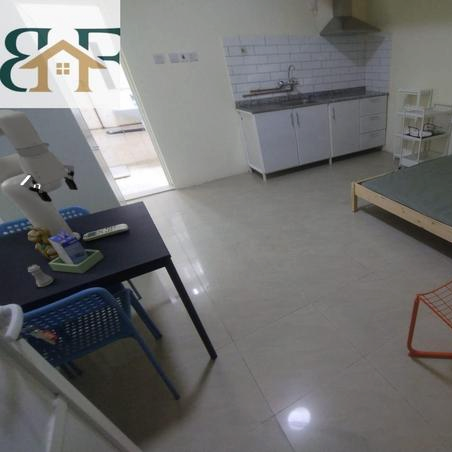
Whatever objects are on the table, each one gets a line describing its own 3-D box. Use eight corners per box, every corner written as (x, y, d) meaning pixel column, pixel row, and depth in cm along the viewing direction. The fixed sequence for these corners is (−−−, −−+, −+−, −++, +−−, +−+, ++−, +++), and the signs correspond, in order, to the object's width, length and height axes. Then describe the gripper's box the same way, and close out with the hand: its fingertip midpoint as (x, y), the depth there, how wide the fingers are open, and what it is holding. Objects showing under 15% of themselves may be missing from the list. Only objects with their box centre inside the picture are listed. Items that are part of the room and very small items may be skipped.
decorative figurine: (39, 259, 115) (15, 229, 106) (61, 247, 121) (39, 218, 113) (56, 262, 112) (31, 232, 104) (76, 250, 119) (55, 220, 110)
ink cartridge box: (93, 261, 111) (73, 231, 103) (78, 270, 107) (55, 239, 99) (80, 255, 115) (59, 226, 107) (64, 263, 110) (41, 233, 102)
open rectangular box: (53, 270, 108) (48, 263, 106) (76, 255, 116) (71, 248, 114) (82, 273, 106) (77, 266, 104) (104, 257, 114) (99, 250, 112)
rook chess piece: (35, 286, 101) (20, 269, 97) (49, 277, 105) (36, 261, 100) (42, 288, 100) (28, 272, 95) (56, 280, 103) (43, 264, 99)
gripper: (50, 142, 103) (76, 184, 113) (-6, 159, 89) (28, 205, 98) (66, 143, 102) (90, 186, 111) (12, 160, 88) (45, 207, 97)
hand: (61, 195), depth 105 cm, fingers open, 9 cm apart
